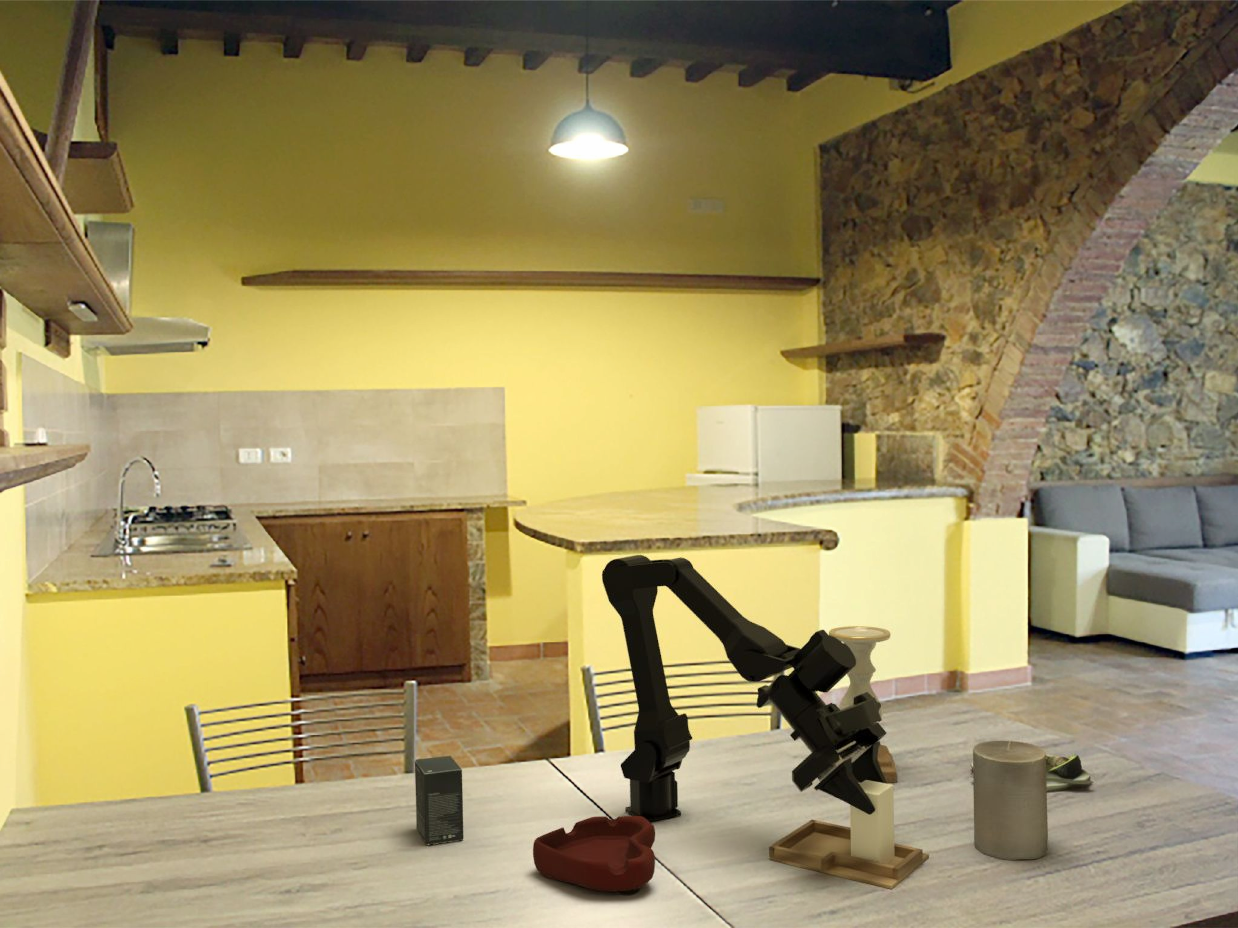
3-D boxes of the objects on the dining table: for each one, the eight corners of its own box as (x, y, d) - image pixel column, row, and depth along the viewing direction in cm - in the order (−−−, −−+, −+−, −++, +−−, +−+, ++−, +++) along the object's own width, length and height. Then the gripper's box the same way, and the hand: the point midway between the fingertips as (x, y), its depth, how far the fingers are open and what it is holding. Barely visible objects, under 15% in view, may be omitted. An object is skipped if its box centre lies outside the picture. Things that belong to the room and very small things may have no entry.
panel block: (851, 863, 153) (850, 789, 153) (866, 851, 157) (865, 779, 157) (879, 870, 151) (878, 795, 150) (894, 857, 155) (893, 784, 154)
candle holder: (826, 761, 200) (824, 625, 199) (891, 762, 198) (889, 625, 197) (829, 781, 189) (827, 637, 188) (897, 782, 187) (896, 637, 186)
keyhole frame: (769, 859, 156) (769, 846, 156) (811, 831, 166) (811, 819, 166) (891, 888, 146) (891, 874, 146) (929, 857, 156) (928, 843, 156)
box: (464, 840, 166) (462, 768, 165) (425, 846, 164) (423, 773, 164) (453, 823, 173) (451, 753, 173) (415, 828, 171) (413, 758, 171)
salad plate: (994, 802, 178) (994, 772, 178) (944, 768, 196) (943, 741, 196) (1109, 793, 181) (1109, 764, 181) (1049, 760, 199) (1049, 733, 199)
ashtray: (540, 849, 162) (539, 814, 162) (655, 848, 162) (655, 813, 162) (526, 902, 145) (525, 863, 144) (655, 902, 144) (654, 862, 144)
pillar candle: (994, 829, 166) (992, 726, 165) (1060, 846, 159) (1058, 739, 158) (960, 849, 159) (958, 742, 158) (1028, 867, 152) (1026, 755, 151)
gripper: (811, 691, 148) (893, 791, 142) (872, 664, 163) (948, 753, 157) (759, 741, 153) (835, 840, 147) (822, 711, 168) (894, 799, 162)
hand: (881, 806), depth 153 cm, fingers open, 5 cm apart
